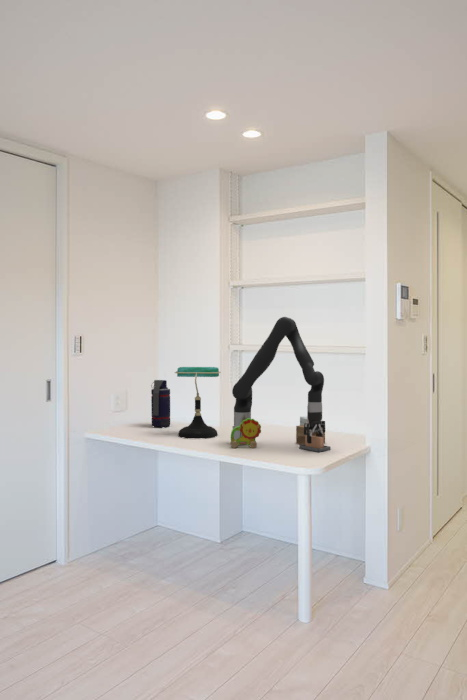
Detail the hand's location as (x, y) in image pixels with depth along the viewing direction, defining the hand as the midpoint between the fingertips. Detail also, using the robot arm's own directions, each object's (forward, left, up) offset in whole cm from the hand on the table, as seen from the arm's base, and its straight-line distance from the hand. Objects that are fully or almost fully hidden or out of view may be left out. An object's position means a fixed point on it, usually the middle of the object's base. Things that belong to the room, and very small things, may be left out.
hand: (314, 442), depth 293 cm
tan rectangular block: (0, 0, -3) cm, 3 cm away
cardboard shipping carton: (+11, +12, -4) cm, 17 cm away
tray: (0, 0, -4) cm, 4 cm away
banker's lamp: (-18, +73, -4) cm, 75 cm away
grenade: (-16, +114, -4) cm, 115 cm away
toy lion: (-22, +28, -4) cm, 36 cm away
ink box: (+24, +24, -4) cm, 34 cm away
